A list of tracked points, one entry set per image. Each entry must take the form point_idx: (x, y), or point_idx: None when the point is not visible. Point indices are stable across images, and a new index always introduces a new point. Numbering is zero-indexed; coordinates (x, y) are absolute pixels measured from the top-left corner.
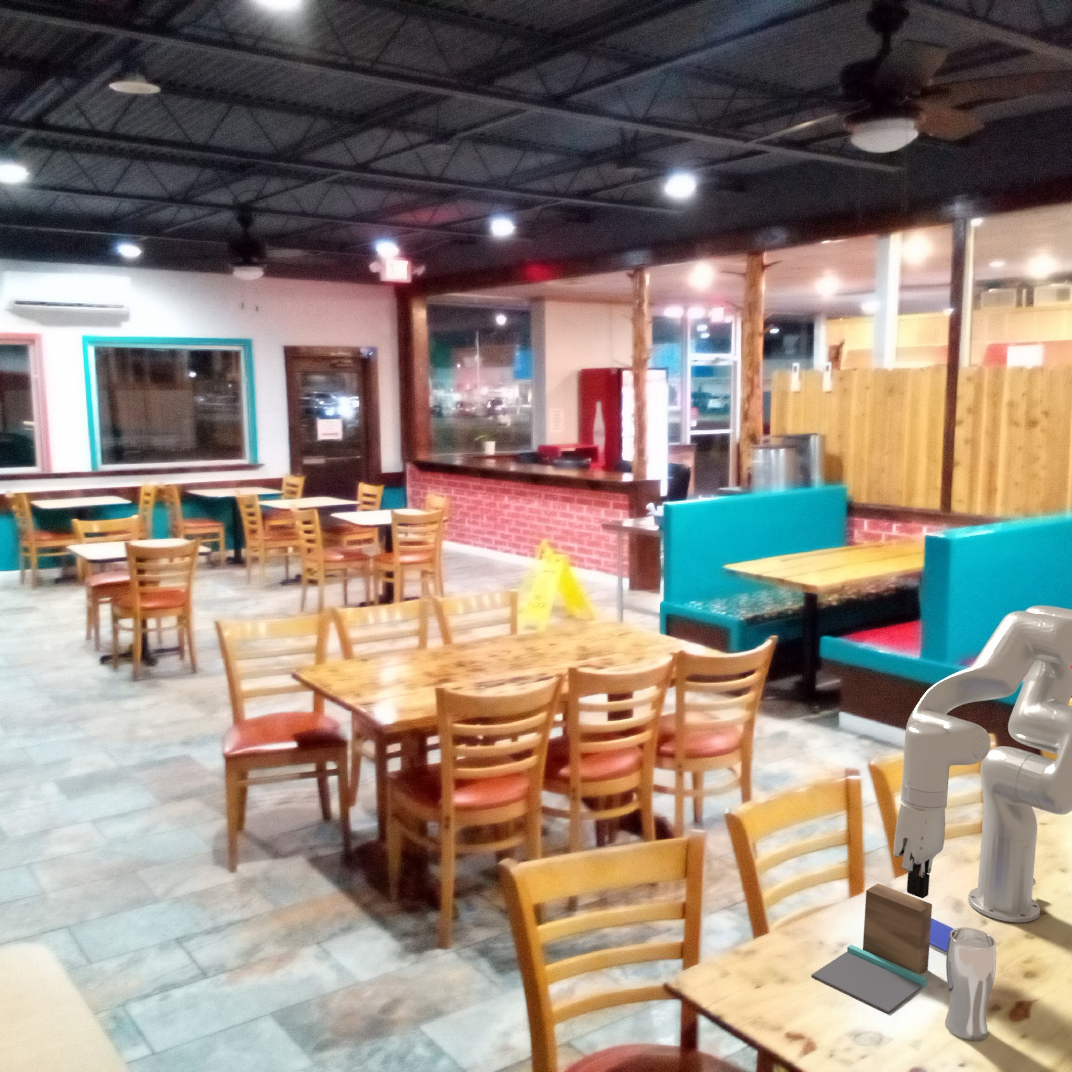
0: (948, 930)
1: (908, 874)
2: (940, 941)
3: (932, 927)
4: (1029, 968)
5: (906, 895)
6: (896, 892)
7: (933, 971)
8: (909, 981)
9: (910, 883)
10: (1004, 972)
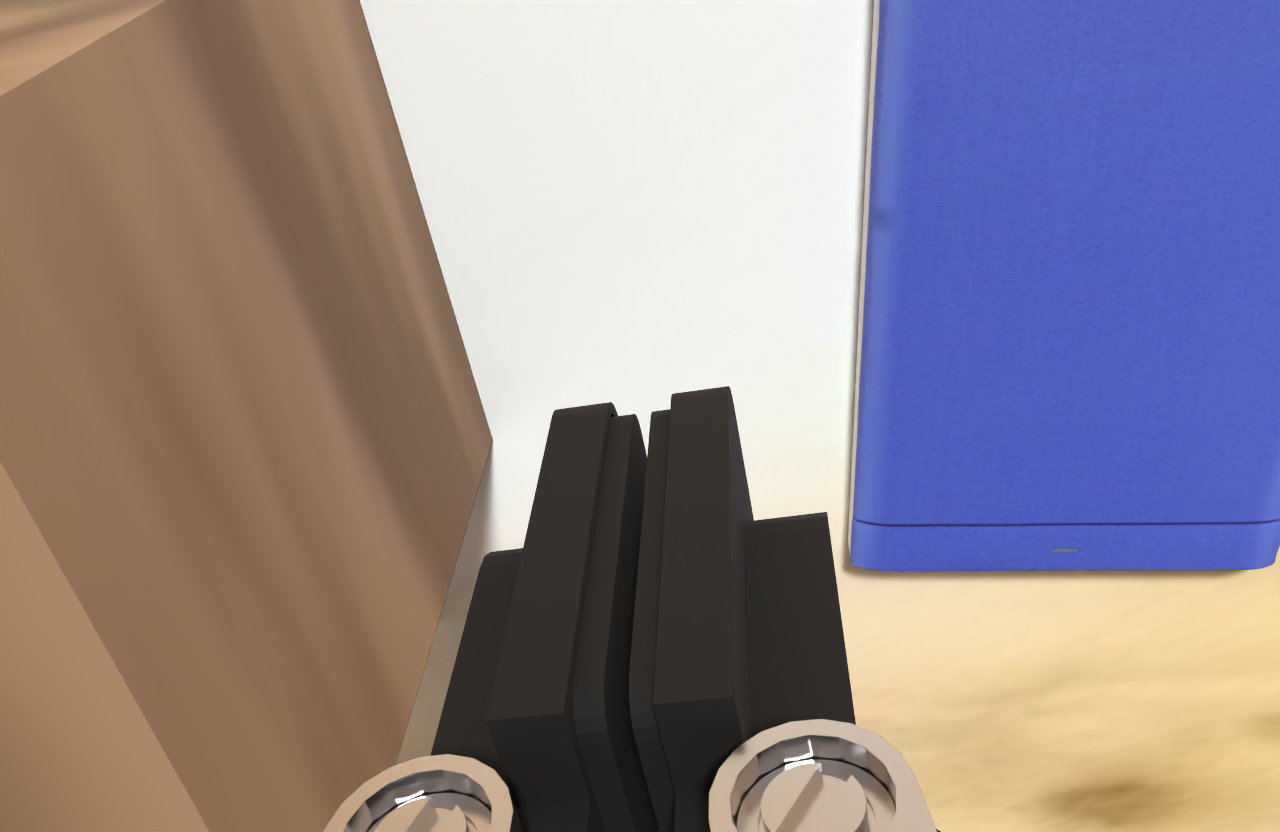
0: (1272, 204)
1: (508, 662)
2: (963, 297)
3: (1202, 65)
4: (1203, 773)
5: (120, 754)
6: (14, 617)
7: (522, 472)
8: None
9: (462, 651)
10: (994, 720)
